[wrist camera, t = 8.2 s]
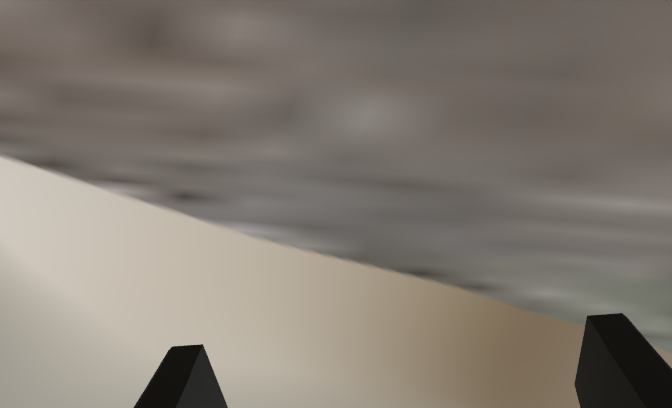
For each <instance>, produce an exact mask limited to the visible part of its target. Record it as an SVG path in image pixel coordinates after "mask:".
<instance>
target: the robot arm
mask: <svg viewBox="0 0 672 408" xmlns="http://www.w3.org/2000/svg"><path fill="white" fill-rule="evenodd" d="M575 388H576V392H577V396H578V399H579V403H580V407H581V408H672V368H671V367H670V366H669V365H668V364H667V363H666V362H665V361H664V360H663V359H662V357H661V356H660V355H659V354H658V353H657V352H656V351H655V349H654V348H653V347H652V346H651V345H650V344H649V343H648V341H647V340H646V339H645V338H644V337H643V336H642V334H641V333H640V332H639V331H638V330H637V329H636V327H635V326H634V325H633V324H632V323H631V322H630V320H629V319H628V318H627V317H626V316H625V315H623V314H622V313H619V314H606V315H592V316H587V320H586V326H585V331H584V337H583V342H582V347H581V353H580V358H579V364H578V369H577V374H576V380H575ZM134 408H227V405H226V402H225V399H224V397H223V394H222V392H221V389H220V387H219V384H218V382H217V379H216V377H215V375H214V371H213V369H212V366H211V364H210V362H209V359H208V356H207V354H206V351H205V349H204V346H203V345H188V346H175V347H172V348H171V349H170V350H169V351H168V352H167V354H166V356H165V357H164V359H163V361H162V362H161V364H160V366H159V367H158V369H157V371H156V372H155V374H154V376H153V377H152V379H151V381H150V382H149V384H148V386H147V387H146V389H145V391H144V392H143V394H142V395H141V397H140V398H139V400H138V402H137V403H136V405H135V406H134Z"/></svg>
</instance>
